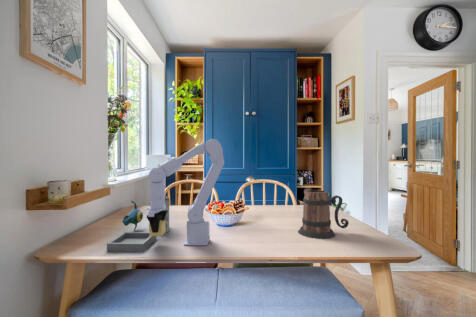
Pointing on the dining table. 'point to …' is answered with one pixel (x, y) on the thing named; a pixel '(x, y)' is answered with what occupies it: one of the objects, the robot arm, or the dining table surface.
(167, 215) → the coffee box
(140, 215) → the blue bird figurine
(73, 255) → the dining table surface
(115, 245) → the tray
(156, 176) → the robot arm
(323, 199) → the tankard
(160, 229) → the mustard block
